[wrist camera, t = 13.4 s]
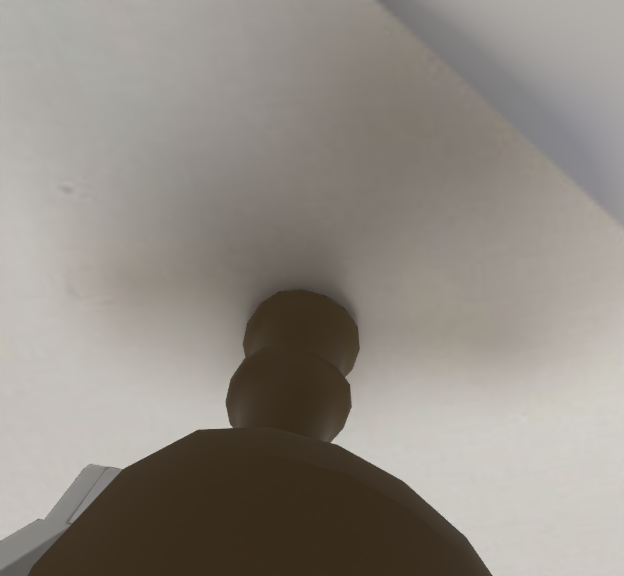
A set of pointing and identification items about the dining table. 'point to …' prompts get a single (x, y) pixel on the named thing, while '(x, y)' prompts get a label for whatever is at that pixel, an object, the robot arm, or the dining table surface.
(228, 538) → the kendama
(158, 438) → the dining table surface
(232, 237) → the dining table surface
